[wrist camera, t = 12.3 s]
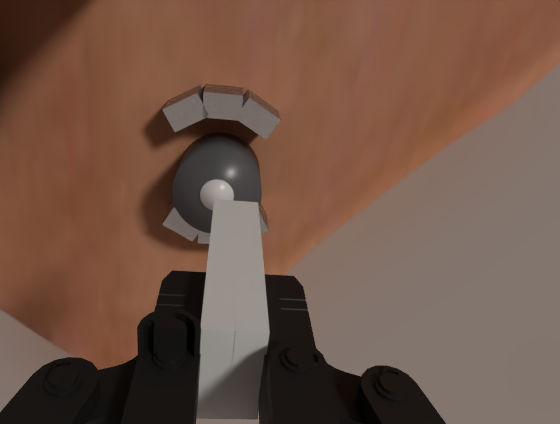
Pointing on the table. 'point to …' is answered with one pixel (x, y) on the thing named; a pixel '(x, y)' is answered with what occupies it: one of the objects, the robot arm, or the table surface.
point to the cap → (214, 177)
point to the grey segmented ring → (218, 106)
